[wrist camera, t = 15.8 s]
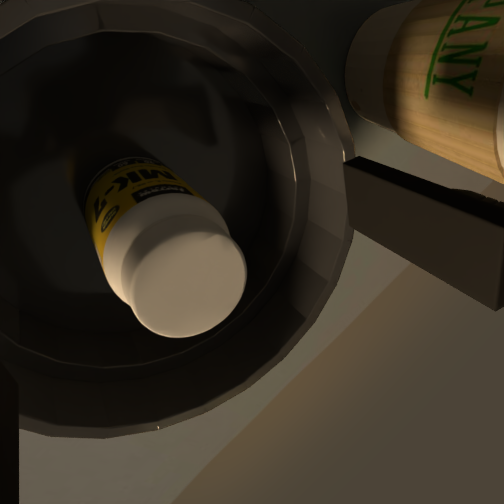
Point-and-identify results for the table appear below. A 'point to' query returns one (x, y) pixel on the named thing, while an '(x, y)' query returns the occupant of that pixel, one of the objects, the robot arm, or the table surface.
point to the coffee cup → (435, 78)
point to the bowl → (182, 164)
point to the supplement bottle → (163, 247)
